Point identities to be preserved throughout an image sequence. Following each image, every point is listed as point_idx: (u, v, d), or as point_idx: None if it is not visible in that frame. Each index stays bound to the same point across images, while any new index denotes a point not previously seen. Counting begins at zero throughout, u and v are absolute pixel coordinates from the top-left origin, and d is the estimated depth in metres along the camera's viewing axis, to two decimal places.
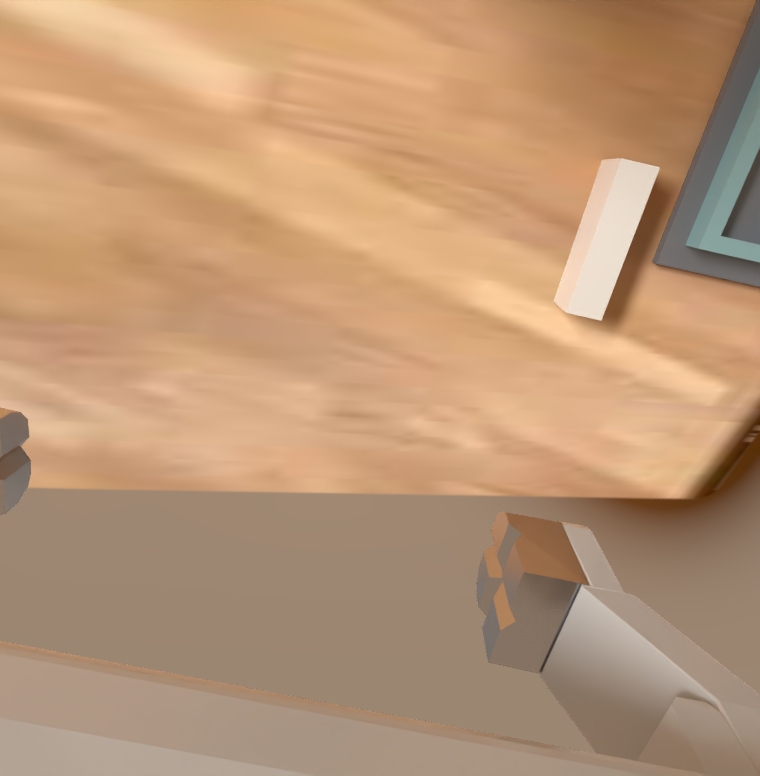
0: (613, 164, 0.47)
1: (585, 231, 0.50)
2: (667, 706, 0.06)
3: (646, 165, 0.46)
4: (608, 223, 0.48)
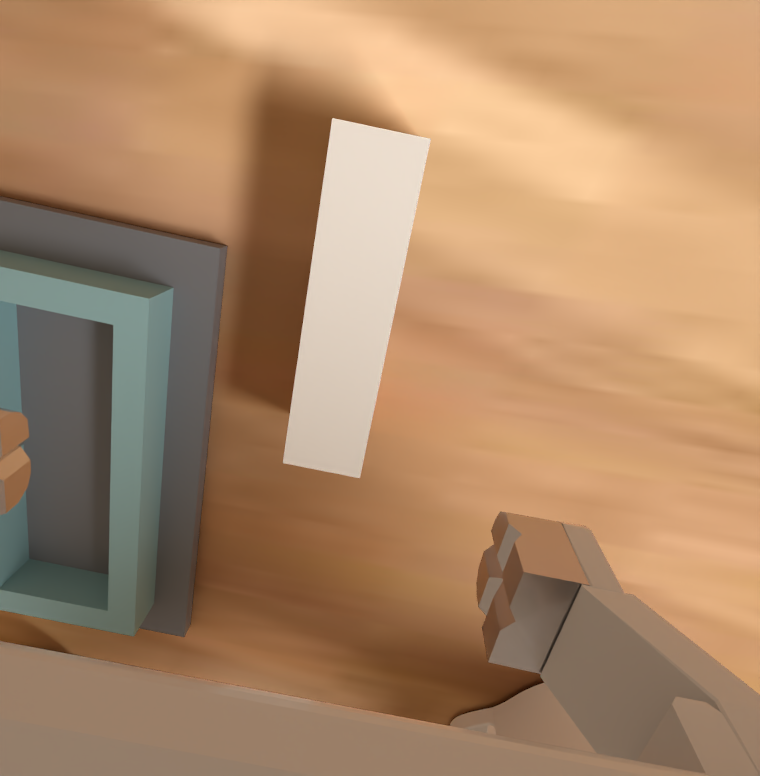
0: None
1: None
2: (667, 706, 0.06)
3: (309, 466, 0.24)
4: (360, 363, 0.22)
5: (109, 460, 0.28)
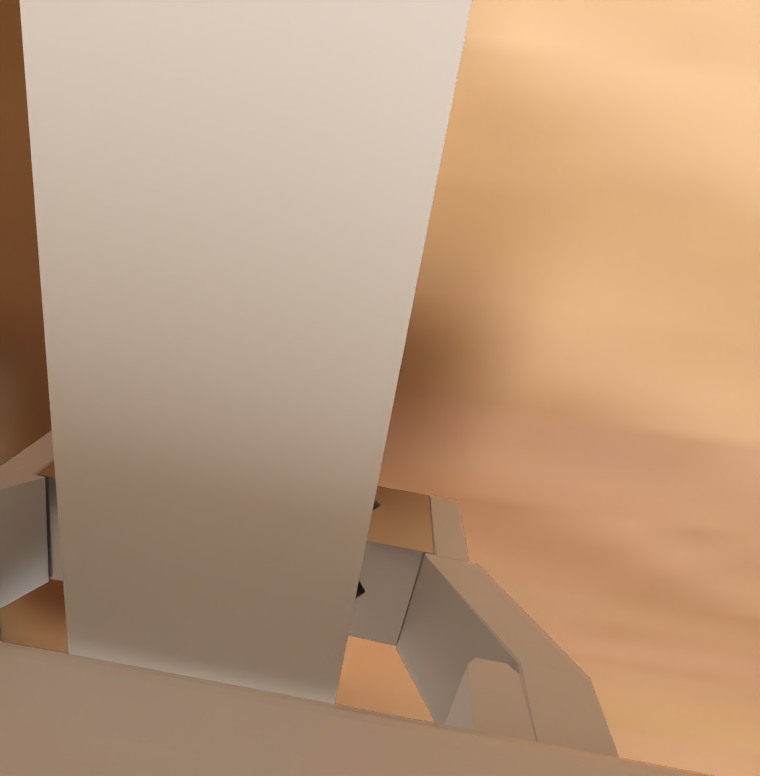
0: None
1: None
2: None
3: None
4: None
5: None
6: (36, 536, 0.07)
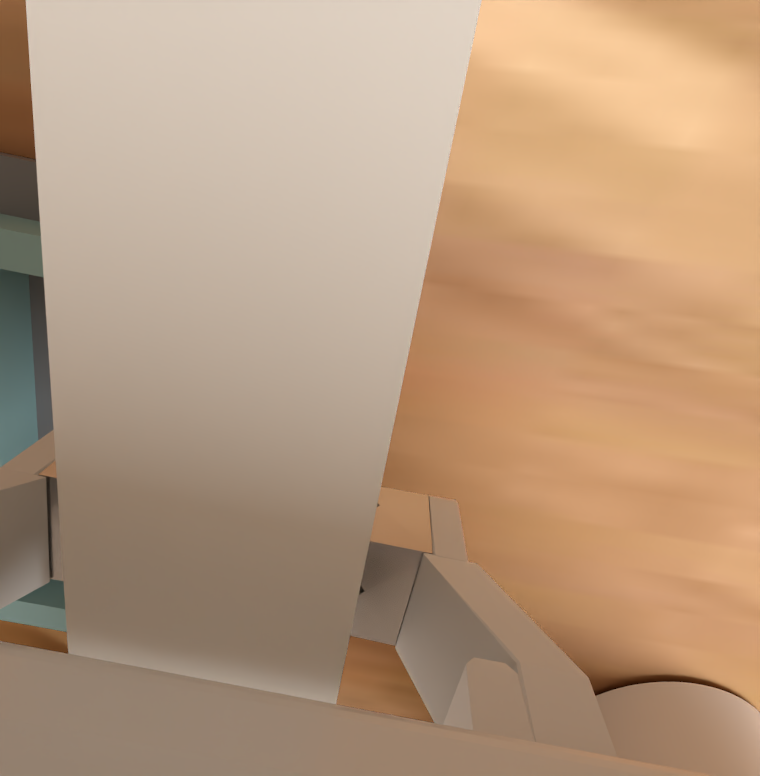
0: None
1: None
2: None
3: None
4: None
5: None
6: (37, 536, 0.07)
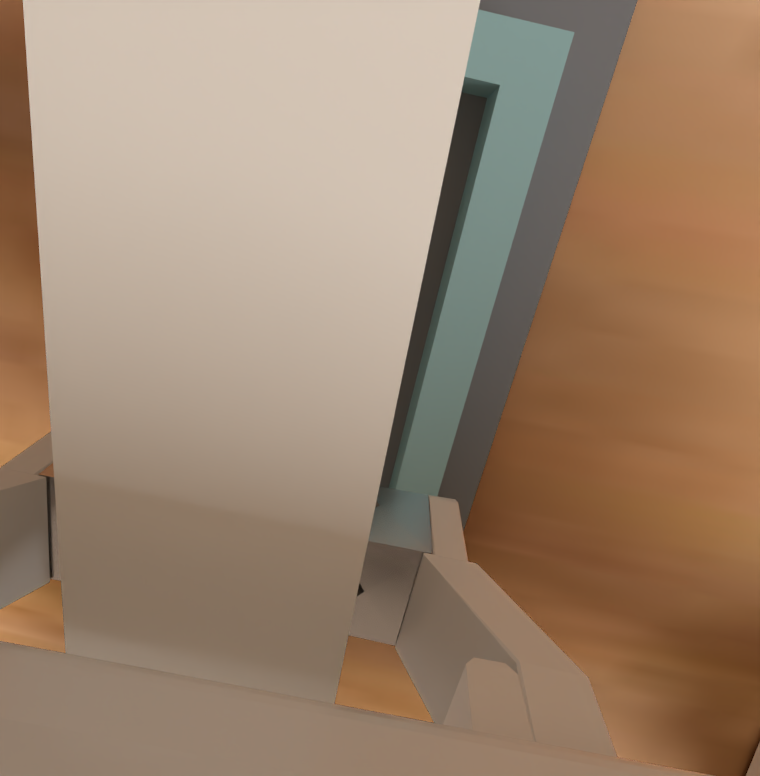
0: None
1: None
2: None
3: None
4: None
5: None
6: (37, 536, 0.07)
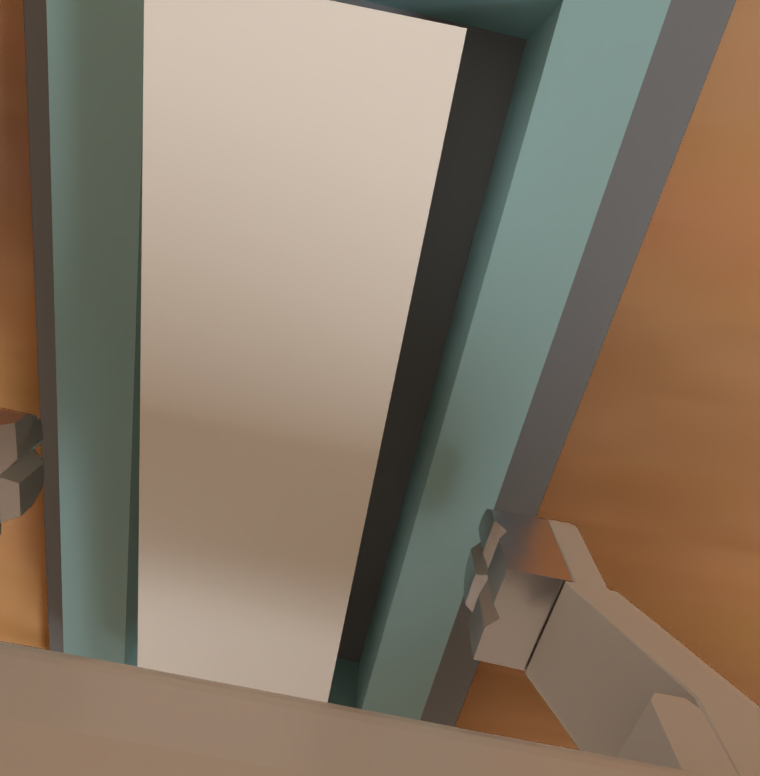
0: None
1: None
2: (648, 702, 0.06)
3: None
4: (289, 613, 0.09)
5: None
6: None
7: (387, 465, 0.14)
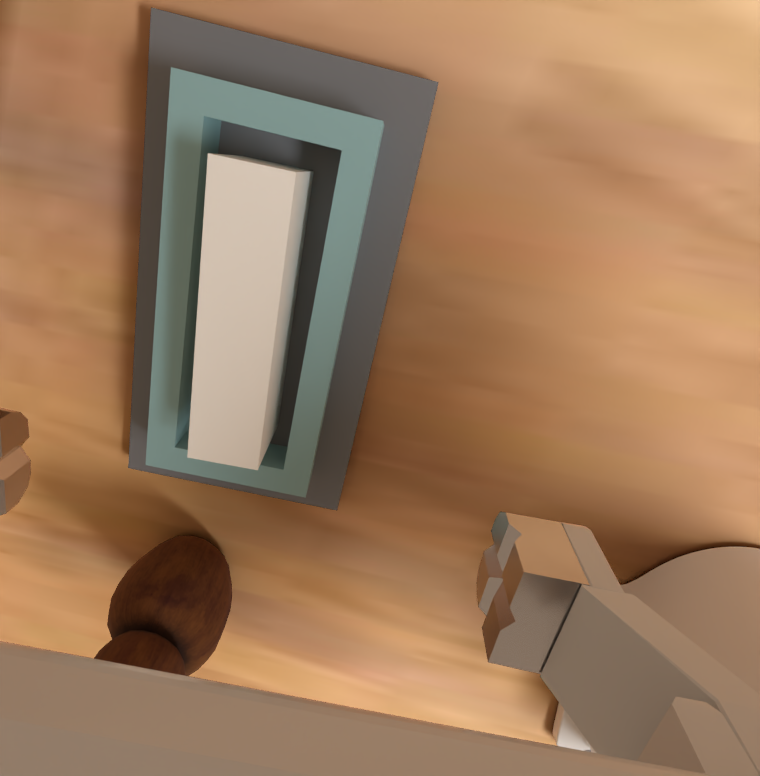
0: (265, 448, 0.27)
1: (283, 332, 0.26)
2: (667, 706, 0.06)
3: (211, 460, 0.26)
4: (249, 368, 0.24)
5: None
6: None
7: (300, 336, 0.29)
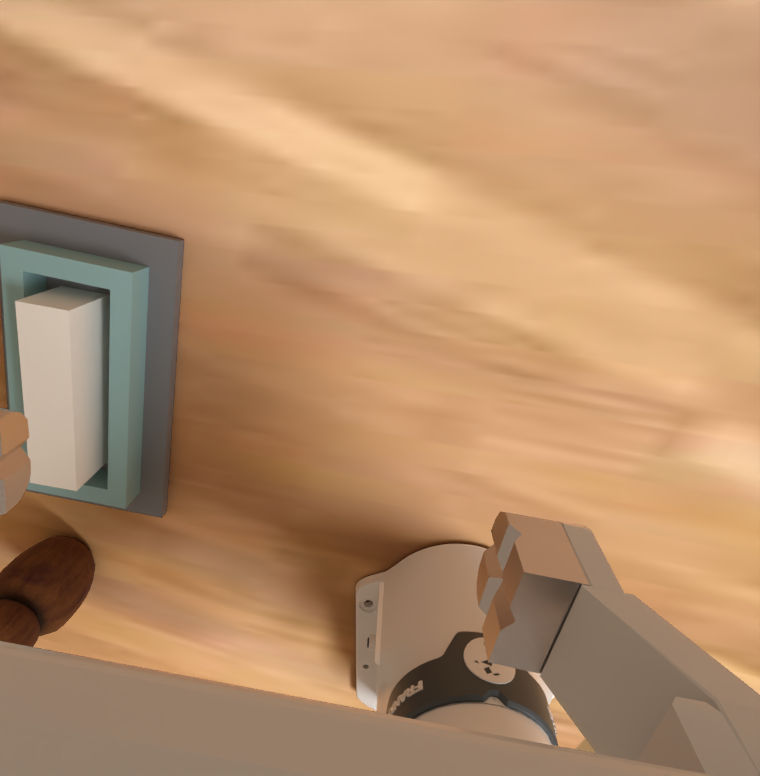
0: (87, 475, 0.41)
1: (92, 400, 0.39)
2: (667, 706, 0.06)
3: (45, 484, 0.40)
4: (60, 425, 0.38)
5: None
6: None
7: None
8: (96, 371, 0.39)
